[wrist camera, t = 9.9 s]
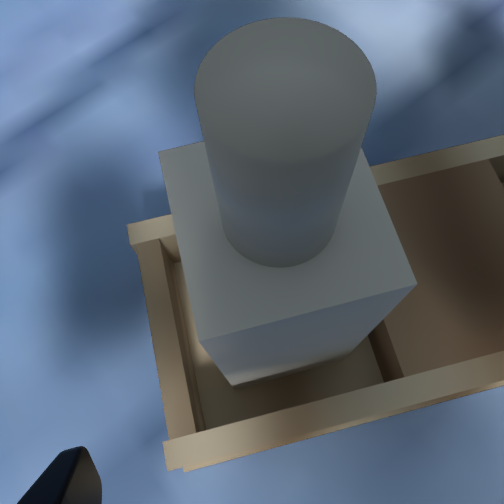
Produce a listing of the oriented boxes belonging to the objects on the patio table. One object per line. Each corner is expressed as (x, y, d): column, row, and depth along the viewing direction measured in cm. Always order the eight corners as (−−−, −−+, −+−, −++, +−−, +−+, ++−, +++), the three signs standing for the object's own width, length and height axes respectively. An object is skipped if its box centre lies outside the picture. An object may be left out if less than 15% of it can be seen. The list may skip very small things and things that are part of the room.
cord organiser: (188, 470, 16) (168, 478, 13) (149, 255, 19) (126, 219, 16) (715, 327, 18) (816, 302, 14) (600, 146, 21) (663, 91, 17)
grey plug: (343, 360, 17) (513, 186, 5) (234, 389, 16) (150, 277, 5) (309, 259, 18) (383, -57, 6) (210, 284, 18) (100, 4, 6)
